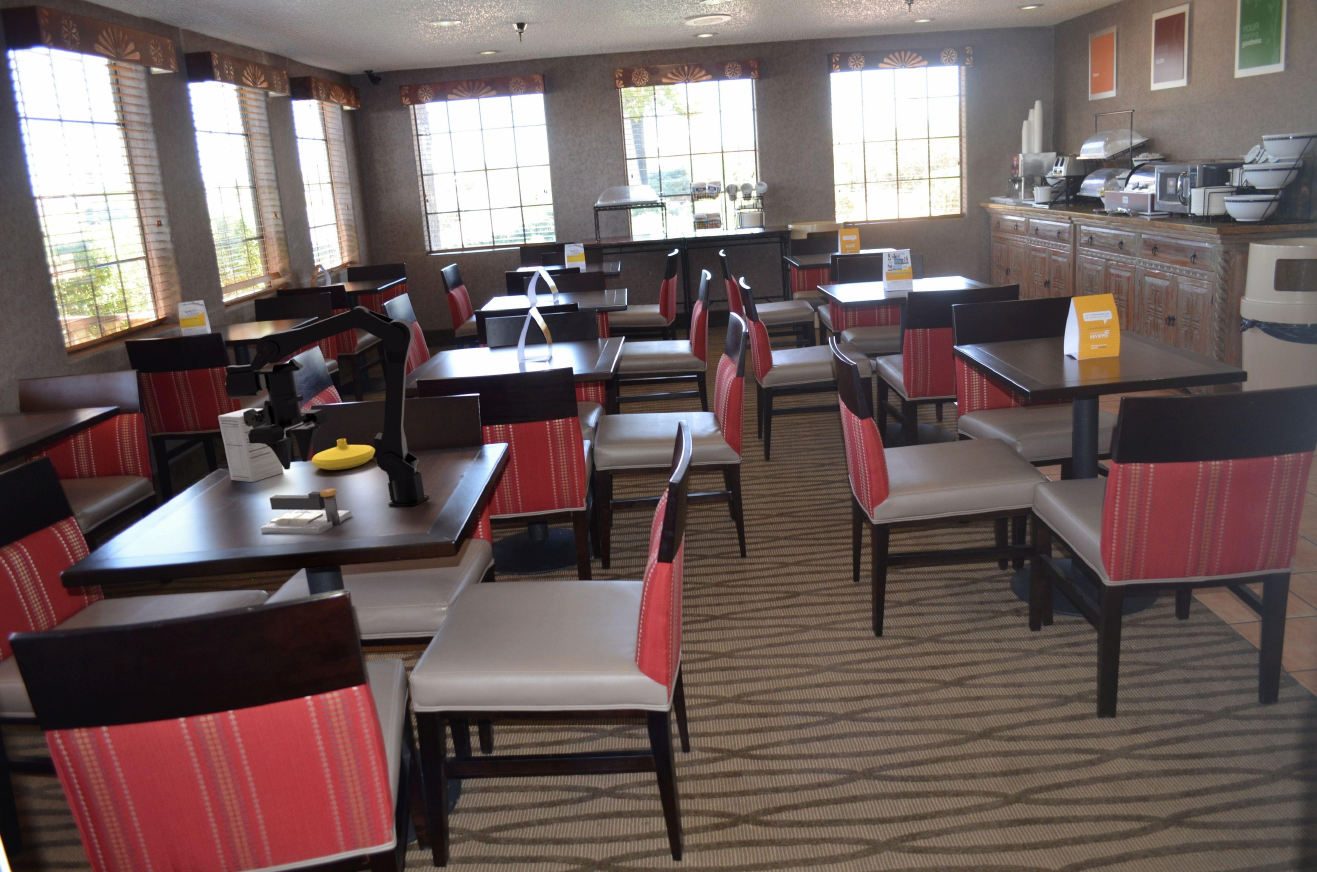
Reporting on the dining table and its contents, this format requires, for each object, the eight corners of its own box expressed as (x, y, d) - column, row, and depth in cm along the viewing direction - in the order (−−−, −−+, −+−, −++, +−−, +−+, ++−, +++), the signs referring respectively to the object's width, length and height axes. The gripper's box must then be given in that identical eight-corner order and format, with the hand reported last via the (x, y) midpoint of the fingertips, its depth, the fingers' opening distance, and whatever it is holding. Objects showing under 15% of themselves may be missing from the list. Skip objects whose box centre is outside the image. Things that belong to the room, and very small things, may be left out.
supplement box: (284, 472, 243) (272, 408, 239) (253, 483, 236) (240, 416, 232) (261, 470, 249) (249, 407, 245) (229, 480, 241) (216, 415, 237)
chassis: (354, 515, 200) (349, 487, 199) (322, 533, 190) (317, 504, 189) (295, 515, 205) (290, 487, 203) (261, 532, 195) (255, 504, 193)
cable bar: (342, 506, 196) (339, 488, 195) (333, 511, 193) (330, 493, 192) (279, 505, 200) (276, 488, 200) (269, 510, 197) (266, 492, 197)
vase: (366, 472, 237) (361, 444, 235) (304, 477, 237) (299, 450, 236) (385, 455, 252) (380, 430, 250) (326, 460, 253) (321, 435, 251)
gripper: (279, 385, 210) (292, 454, 213) (219, 404, 192) (234, 478, 196) (322, 383, 206) (335, 453, 210) (265, 402, 189) (279, 478, 193)
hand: (296, 465), depth 202 cm, fingers open, 6 cm apart
